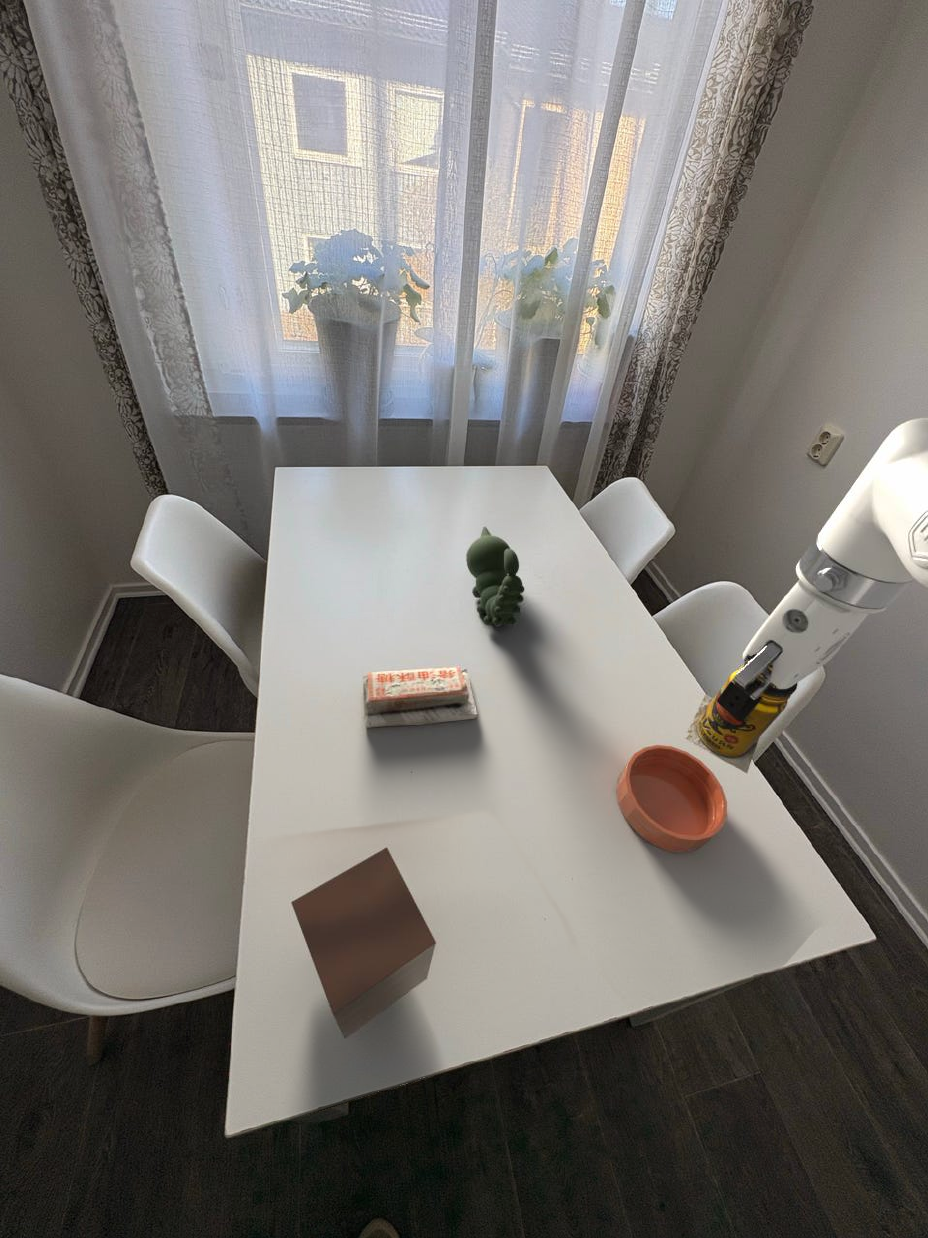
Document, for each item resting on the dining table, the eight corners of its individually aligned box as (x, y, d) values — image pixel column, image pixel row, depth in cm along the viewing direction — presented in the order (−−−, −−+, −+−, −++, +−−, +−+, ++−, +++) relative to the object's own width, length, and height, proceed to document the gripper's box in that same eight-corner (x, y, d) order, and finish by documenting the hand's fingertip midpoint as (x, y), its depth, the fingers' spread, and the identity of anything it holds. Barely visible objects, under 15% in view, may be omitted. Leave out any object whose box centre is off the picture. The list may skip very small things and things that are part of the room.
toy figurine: (522, 645, 99) (499, 555, 114) (546, 576, 84) (516, 484, 100) (475, 647, 97) (458, 556, 113) (490, 577, 83) (468, 484, 98)
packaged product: (364, 712, 77) (361, 662, 84) (365, 730, 80) (363, 680, 87) (480, 702, 80) (469, 655, 87) (477, 720, 84) (466, 672, 90)
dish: (732, 820, 76) (747, 807, 73) (668, 873, 70) (682, 860, 66) (659, 745, 84) (670, 730, 81) (596, 786, 77) (605, 772, 74)
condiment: (683, 739, 60) (731, 673, 52) (704, 695, 66) (751, 629, 57) (746, 775, 58) (806, 712, 49) (762, 726, 63) (819, 662, 55)
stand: (427, 978, 58) (436, 942, 47) (344, 1039, 54) (333, 1015, 43) (387, 896, 64) (386, 846, 53) (309, 945, 59) (290, 902, 48)
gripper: (841, 632, 38) (728, 759, 50) (940, 569, 45) (821, 693, 58) (754, 573, 42) (670, 704, 55) (858, 525, 50) (764, 649, 62)
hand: (749, 697), depth 56 cm, fingers closed on condiment, 6 cm apart
